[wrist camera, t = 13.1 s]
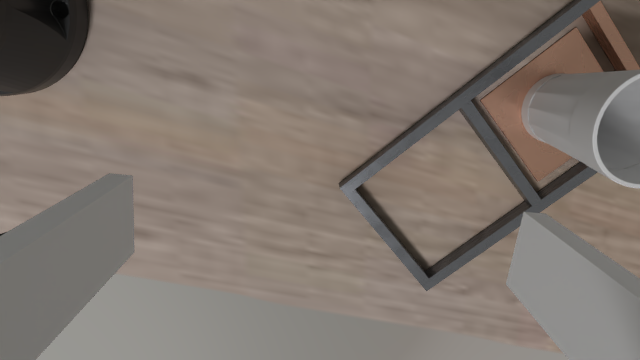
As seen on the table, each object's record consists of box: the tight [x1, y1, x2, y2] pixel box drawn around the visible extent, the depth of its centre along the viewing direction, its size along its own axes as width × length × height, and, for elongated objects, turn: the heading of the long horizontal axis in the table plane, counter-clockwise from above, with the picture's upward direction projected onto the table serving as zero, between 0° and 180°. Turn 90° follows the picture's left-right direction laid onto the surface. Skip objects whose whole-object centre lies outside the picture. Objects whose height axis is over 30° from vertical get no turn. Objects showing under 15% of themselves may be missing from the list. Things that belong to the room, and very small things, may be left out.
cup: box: [521, 69, 640, 188], centre depth 34 cm, size 8×8×12 cm
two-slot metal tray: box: [339, 0, 640, 291], centre depth 41 cm, size 27×14×2 cm, turn 129°
